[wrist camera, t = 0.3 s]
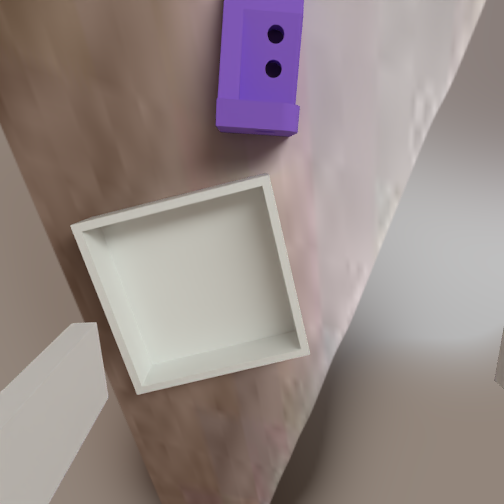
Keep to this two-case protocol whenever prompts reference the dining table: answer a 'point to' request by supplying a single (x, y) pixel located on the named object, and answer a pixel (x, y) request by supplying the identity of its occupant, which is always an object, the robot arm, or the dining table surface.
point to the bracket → (259, 67)
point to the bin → (196, 283)
